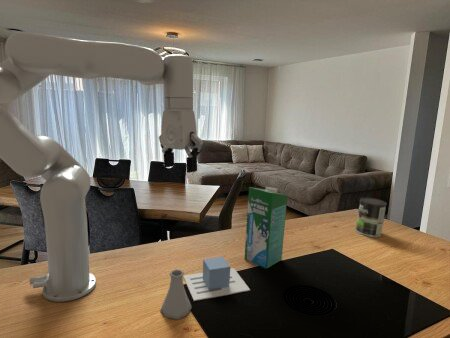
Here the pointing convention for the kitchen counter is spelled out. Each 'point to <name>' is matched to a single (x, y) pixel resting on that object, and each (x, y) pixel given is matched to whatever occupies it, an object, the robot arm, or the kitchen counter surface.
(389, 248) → the kitchen counter surface
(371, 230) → the coffee can
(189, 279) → the letter
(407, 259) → the kitchen counter surface
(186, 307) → the flask
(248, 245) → the milk carton
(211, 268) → the blue cube
